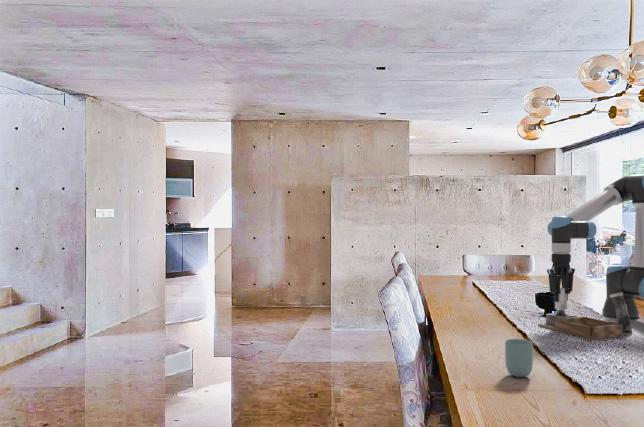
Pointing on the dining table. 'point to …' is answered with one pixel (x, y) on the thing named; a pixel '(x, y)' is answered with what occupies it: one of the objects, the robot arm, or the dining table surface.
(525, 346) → the cup
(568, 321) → the board
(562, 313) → the rod
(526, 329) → the dining table surface
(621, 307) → the stone block
